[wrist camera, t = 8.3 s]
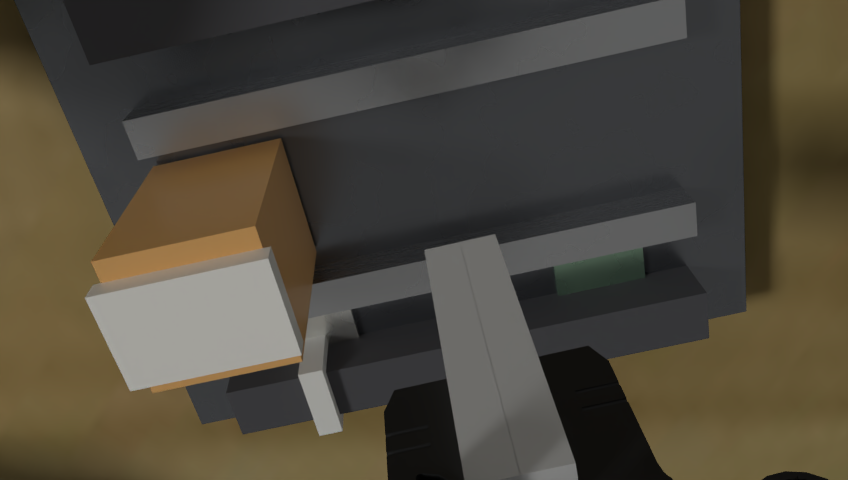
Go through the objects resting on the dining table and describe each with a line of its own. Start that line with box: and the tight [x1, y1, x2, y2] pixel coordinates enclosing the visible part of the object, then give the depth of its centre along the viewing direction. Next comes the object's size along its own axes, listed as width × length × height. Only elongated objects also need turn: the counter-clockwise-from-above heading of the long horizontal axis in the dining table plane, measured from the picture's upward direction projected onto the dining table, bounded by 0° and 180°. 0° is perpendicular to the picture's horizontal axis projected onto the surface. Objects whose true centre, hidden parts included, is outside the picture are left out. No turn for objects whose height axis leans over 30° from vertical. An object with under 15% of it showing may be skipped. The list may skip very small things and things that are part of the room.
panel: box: [14, 0, 746, 424], centre depth 25 cm, size 16×20×3 cm
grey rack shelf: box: [63, 0, 709, 436], centre depth 24 cm, size 16×16×2 cm
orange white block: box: [85, 138, 317, 393], centre depth 22 cm, size 4×4×7 cm
